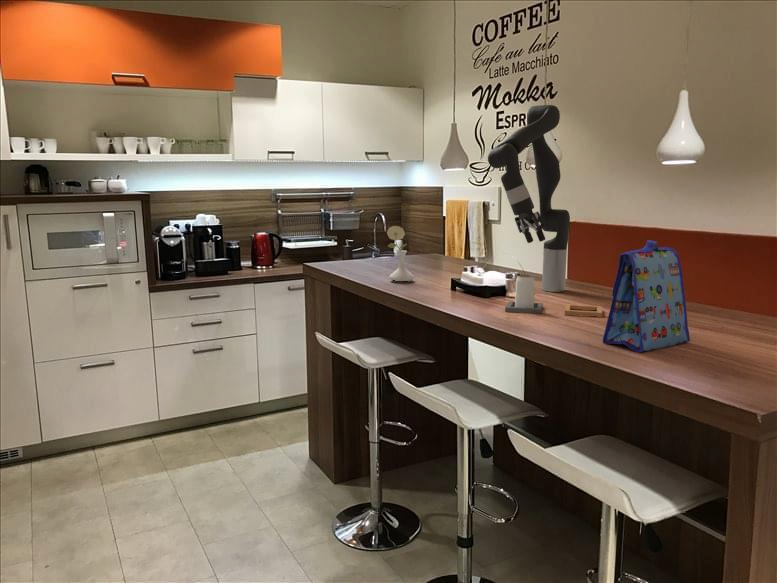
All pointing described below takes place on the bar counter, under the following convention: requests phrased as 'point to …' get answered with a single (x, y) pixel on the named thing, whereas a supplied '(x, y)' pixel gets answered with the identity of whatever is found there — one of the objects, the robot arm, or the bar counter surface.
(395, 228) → the flower in vase
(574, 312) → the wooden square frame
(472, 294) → the bar counter surface
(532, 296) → the can
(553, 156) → the robot arm
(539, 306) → the grey socket
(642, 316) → the lunch bag
